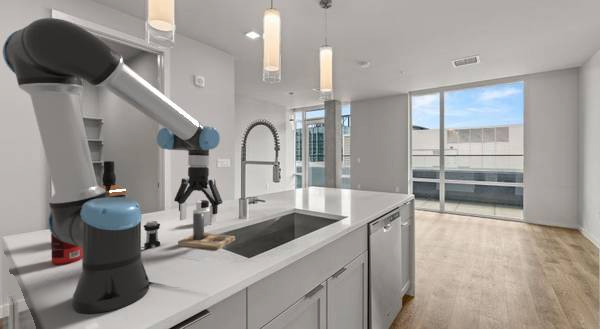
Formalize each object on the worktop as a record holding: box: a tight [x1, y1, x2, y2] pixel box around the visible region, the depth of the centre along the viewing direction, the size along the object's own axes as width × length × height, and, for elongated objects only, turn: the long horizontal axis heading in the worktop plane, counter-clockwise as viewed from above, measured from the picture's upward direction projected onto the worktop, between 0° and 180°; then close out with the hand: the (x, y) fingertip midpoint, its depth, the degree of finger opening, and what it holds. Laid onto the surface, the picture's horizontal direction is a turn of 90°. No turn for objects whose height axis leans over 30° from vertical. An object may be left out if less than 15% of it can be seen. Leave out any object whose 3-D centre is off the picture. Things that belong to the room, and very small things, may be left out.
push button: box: [141, 220, 161, 252], centre depth 96 cm, size 7×5×10 cm
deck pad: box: [178, 249, 214, 261], centre depth 89 cm, size 8×8×1 cm
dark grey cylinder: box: [192, 212, 205, 241], centre depth 103 cm, size 4×4×12 cm
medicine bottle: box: [192, 199, 213, 226], centre depth 134 cm, size 7×7×12 cm
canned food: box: [50, 232, 82, 266], centre depth 86 cm, size 8×8×11 cm
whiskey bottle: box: [100, 160, 127, 198], centre depth 112 cm, size 10×10×32 cm
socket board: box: [177, 232, 236, 251], centre depth 102 cm, size 12×17×3 cm
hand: (197, 221), depth 103 cm, fingers open, 13 cm apart
